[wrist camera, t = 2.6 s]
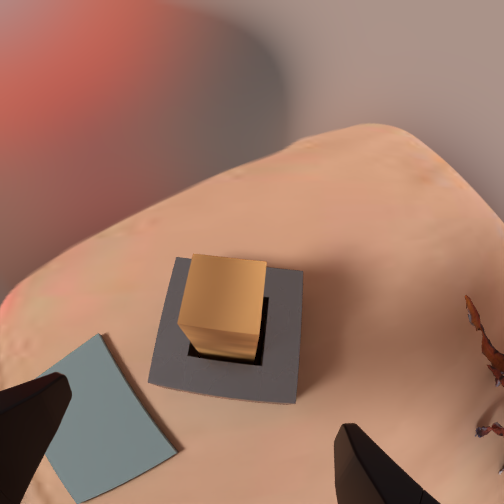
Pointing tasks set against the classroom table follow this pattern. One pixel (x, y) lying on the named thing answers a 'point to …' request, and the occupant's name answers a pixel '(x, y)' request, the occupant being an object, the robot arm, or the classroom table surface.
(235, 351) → the peg
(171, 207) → the classroom table surface
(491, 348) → the toy dinosaur
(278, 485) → the classroom table surface
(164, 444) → the pad
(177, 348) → the socket block
